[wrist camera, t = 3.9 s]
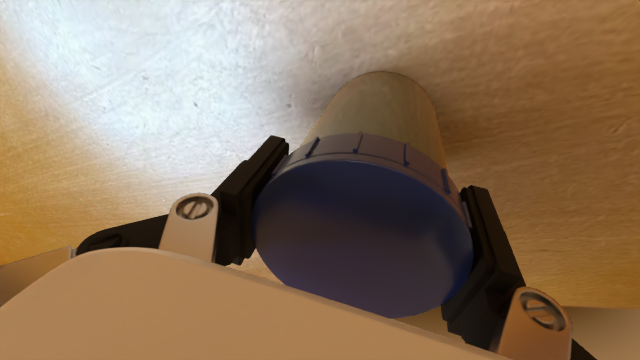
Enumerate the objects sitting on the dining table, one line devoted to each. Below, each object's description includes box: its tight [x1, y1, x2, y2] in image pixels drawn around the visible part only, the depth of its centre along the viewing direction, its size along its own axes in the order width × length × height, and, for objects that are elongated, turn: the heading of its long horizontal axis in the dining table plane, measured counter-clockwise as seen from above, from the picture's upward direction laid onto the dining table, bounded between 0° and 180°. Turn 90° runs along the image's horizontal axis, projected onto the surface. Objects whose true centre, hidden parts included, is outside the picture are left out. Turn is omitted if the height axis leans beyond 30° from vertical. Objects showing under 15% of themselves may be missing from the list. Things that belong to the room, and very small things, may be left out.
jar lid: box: [252, 131, 474, 319], centre depth 9 cm, size 7×7×2 cm
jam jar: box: [300, 72, 450, 177], centre depth 13 cm, size 6×6×9 cm
